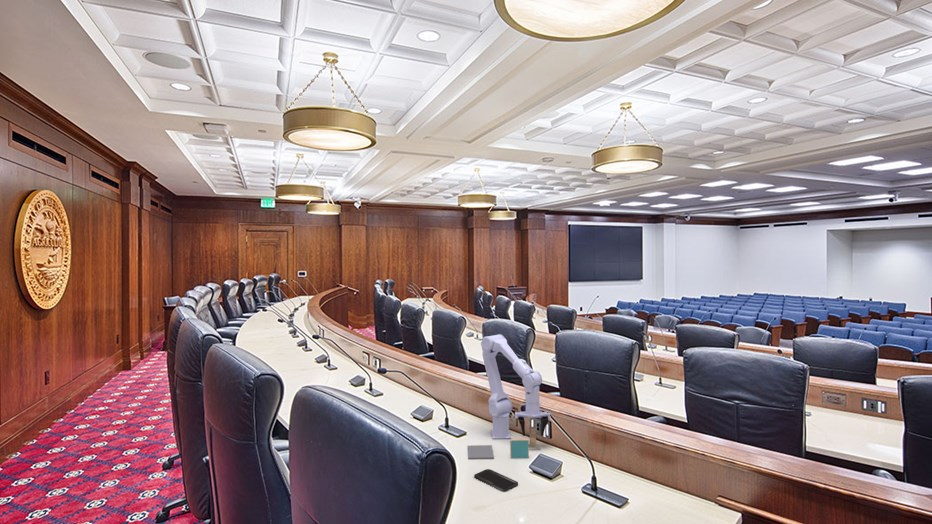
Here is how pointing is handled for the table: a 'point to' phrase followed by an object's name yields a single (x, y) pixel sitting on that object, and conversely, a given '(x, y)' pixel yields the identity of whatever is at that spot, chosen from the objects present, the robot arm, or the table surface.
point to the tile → (519, 448)
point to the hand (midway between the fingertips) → (532, 435)
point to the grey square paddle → (533, 440)
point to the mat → (480, 452)
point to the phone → (496, 480)
